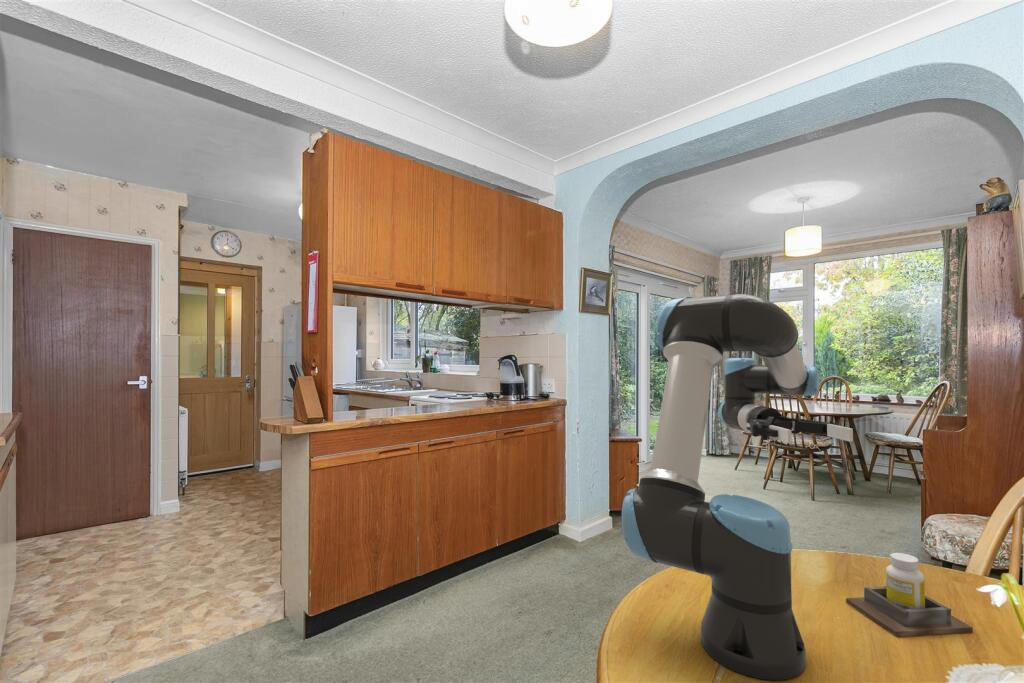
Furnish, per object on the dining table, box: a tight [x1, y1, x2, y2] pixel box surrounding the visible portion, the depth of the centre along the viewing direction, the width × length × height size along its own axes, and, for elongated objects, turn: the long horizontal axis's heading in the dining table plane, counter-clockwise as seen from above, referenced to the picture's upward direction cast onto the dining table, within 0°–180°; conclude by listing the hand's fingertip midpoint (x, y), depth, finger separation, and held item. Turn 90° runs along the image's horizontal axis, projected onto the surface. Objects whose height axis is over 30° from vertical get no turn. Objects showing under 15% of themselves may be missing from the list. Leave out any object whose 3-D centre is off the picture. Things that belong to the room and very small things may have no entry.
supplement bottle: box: [885, 552, 926, 609], centre depth 88 cm, size 5×5×10 cm
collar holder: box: [845, 586, 974, 638], centre depth 88 cm, size 14×11×3 cm
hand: (820, 435), depth 102 cm, fingers open, 13 cm apart
